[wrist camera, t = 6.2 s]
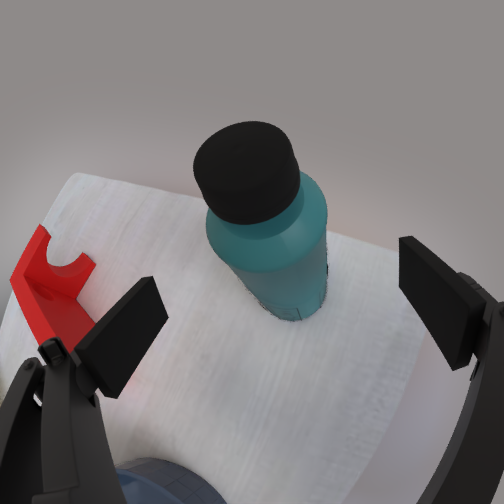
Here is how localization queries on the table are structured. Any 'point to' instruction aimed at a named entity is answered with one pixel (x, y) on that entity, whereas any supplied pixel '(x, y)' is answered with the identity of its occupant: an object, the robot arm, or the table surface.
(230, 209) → the beverage bottle
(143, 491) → the bowl
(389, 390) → the table surface
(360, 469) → the table surface
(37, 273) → the bracket
